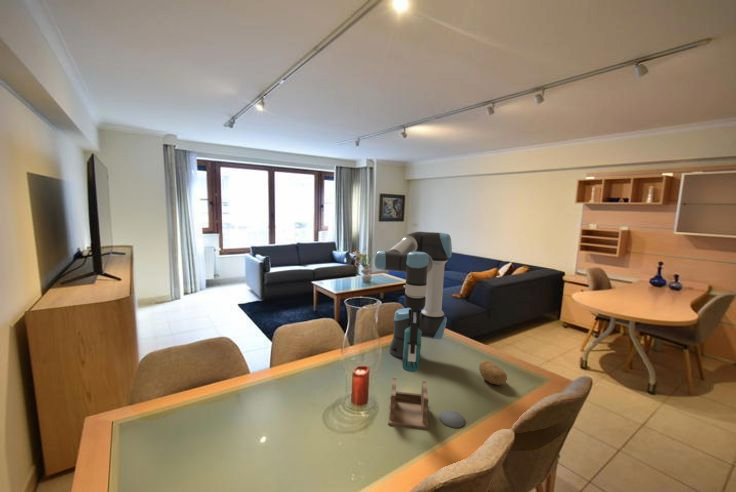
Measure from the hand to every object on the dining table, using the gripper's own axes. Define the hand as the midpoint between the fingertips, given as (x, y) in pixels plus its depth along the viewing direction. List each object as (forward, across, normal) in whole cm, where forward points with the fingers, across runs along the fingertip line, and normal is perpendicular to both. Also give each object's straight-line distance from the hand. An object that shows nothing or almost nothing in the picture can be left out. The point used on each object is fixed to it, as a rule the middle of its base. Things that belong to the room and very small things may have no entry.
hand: (411, 356), depth 117 cm
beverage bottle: (+6, 0, 0) cm, 6 cm away
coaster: (+22, +1, +16) cm, 27 cm away
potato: (+22, -29, +38) cm, 53 cm away
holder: (+22, 0, 0) cm, 22 cm away
